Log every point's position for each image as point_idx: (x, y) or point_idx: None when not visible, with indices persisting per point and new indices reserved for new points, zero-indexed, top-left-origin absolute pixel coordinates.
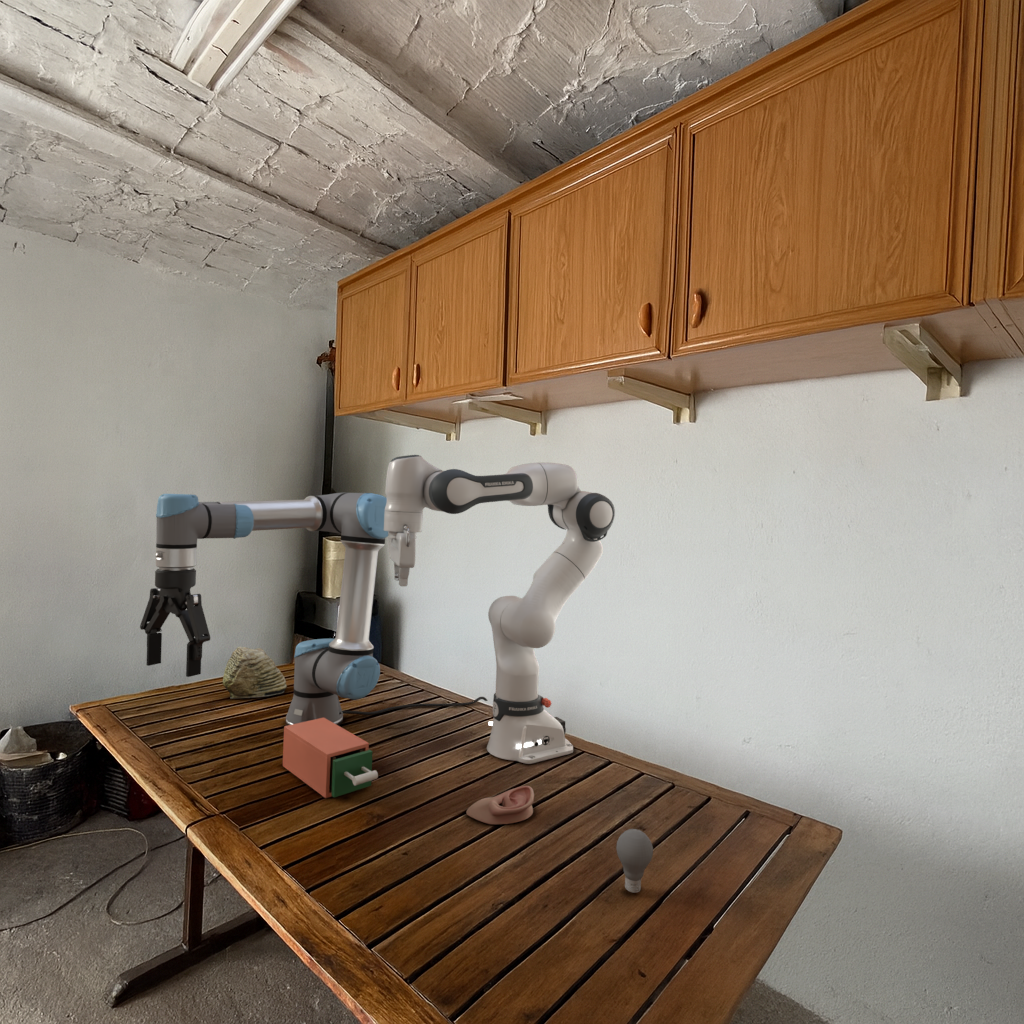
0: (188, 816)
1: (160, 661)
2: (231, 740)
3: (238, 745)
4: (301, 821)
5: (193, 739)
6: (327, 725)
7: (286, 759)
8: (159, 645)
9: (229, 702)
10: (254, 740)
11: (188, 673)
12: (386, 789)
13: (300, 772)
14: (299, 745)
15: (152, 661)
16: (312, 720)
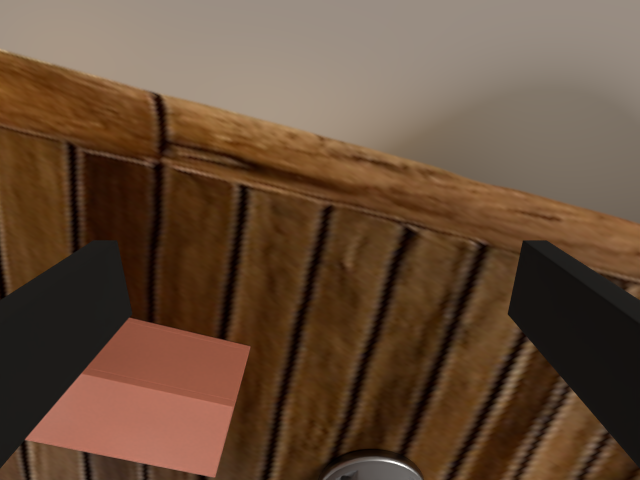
0: (194, 118)
1: (513, 317)
2: (437, 367)
3: (404, 360)
4: (23, 226)
5: (510, 332)
6: (165, 454)
7: (230, 354)
8: (587, 386)
9: (605, 473)
10: (397, 388)
11: (80, 249)
12: None
13: (170, 336)
14: (158, 373)
15: (530, 274)
16: (216, 456)
